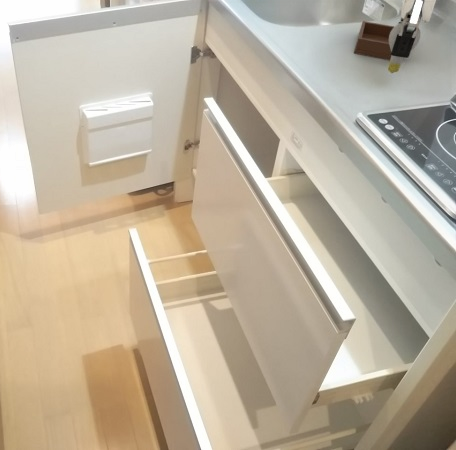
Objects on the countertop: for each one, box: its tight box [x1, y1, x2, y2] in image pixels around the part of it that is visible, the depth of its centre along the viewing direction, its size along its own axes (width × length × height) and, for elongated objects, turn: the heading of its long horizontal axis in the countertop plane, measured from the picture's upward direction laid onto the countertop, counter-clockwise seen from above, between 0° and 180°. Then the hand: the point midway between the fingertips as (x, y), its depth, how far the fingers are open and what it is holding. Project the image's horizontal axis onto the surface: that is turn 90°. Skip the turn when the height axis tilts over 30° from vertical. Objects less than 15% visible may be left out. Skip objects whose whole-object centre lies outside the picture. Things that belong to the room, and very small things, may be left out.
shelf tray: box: [353, 20, 395, 61], centre depth 120 cm, size 10×11×4 cm
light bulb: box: [386, 22, 421, 74], centre depth 101 cm, size 5×5×10 cm
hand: (400, 48), depth 101 cm, fingers closed on light bulb, 5 cm apart
